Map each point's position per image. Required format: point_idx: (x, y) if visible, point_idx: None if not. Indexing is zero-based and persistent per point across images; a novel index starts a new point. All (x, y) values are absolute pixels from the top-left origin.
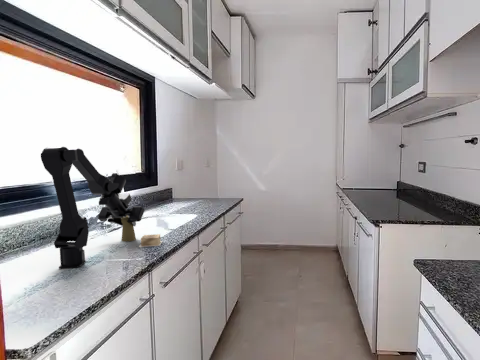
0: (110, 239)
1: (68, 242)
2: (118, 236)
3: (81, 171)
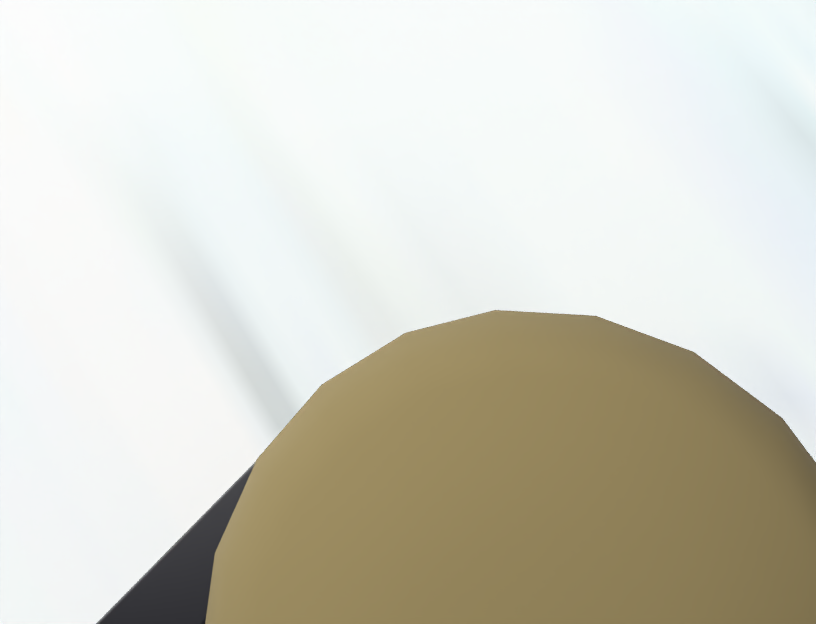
0: (36, 415)
1: None
2: (61, 174)
3: None
